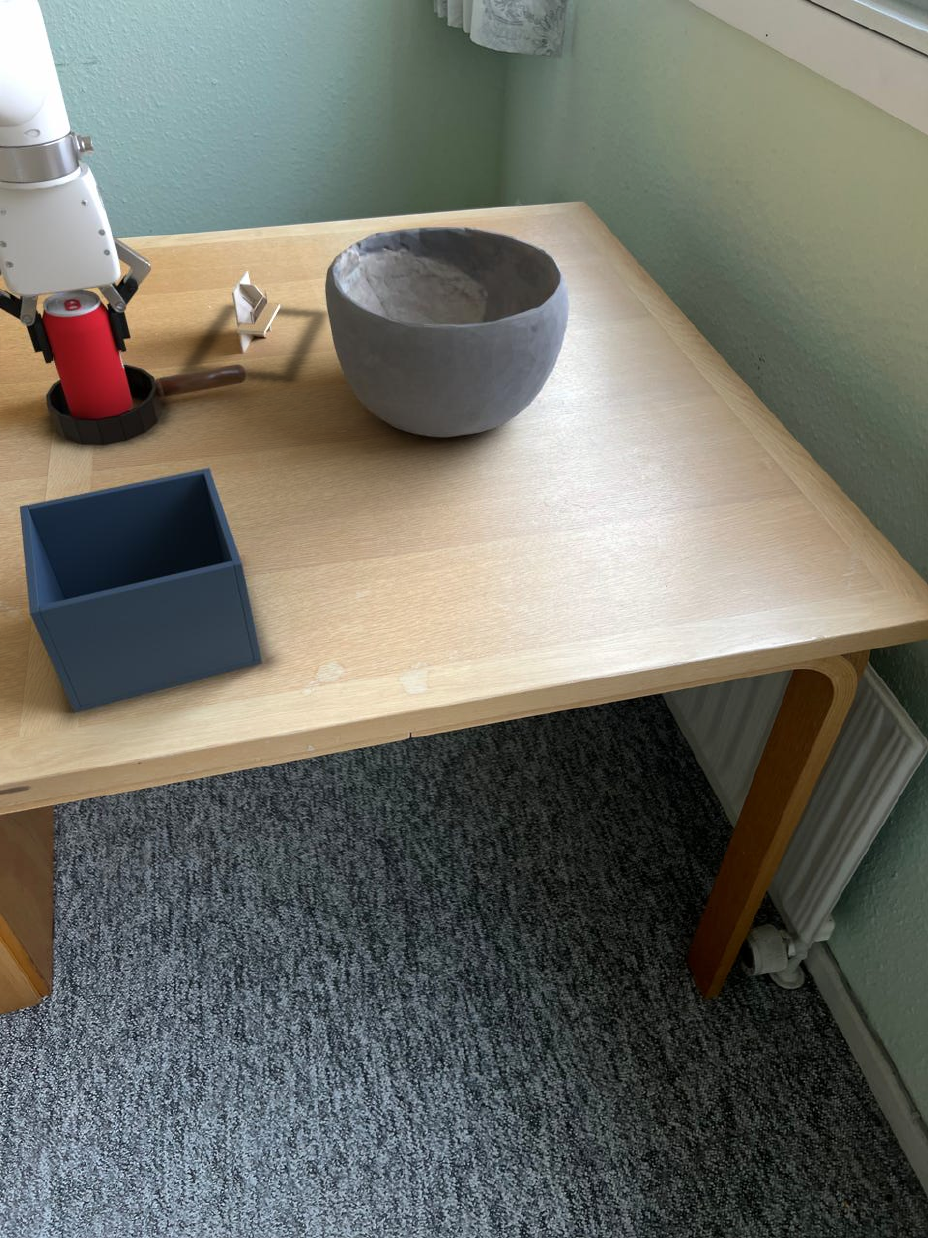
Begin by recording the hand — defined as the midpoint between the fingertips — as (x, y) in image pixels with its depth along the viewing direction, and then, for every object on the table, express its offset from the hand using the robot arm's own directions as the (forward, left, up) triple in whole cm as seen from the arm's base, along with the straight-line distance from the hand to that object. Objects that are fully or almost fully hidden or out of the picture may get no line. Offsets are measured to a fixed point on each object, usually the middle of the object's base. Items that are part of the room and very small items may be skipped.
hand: (85, 349), depth 91 cm
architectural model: (+18, +10, -8) cm, 23 cm away
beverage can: (0, 0, -7) cm, 7 cm away
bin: (0, -34, -8) cm, 34 cm away
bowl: (+34, -10, -8) cm, 37 cm away
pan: (+5, 0, -8) cm, 10 cm away
